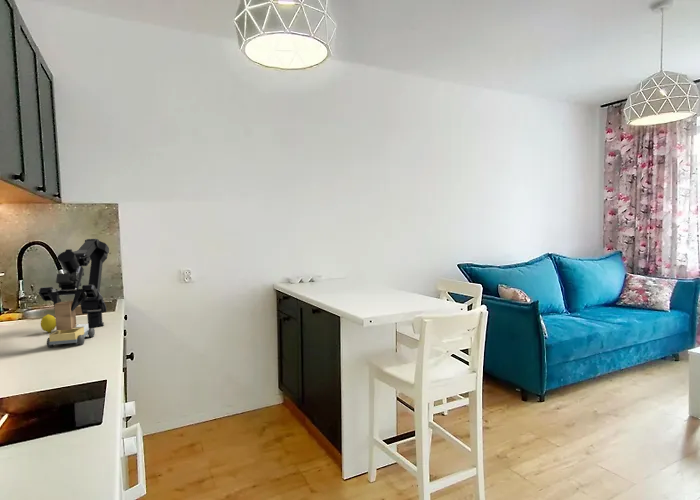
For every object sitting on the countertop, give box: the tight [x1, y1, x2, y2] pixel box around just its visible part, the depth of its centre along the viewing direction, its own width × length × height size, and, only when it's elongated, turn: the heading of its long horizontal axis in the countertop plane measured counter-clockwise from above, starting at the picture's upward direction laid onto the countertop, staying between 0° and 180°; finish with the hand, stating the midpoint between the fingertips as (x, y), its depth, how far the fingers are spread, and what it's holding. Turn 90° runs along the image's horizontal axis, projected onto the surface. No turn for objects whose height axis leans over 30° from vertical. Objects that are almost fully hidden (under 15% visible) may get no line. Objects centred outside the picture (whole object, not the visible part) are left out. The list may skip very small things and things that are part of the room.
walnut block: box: [53, 300, 77, 332], centre depth 162 cm, size 5×5×10 cm
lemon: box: [40, 313, 56, 334], centre depth 182 cm, size 6×6×8 cm
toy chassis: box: [46, 323, 96, 348], centre depth 166 cm, size 16×11×5 cm
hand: (63, 310), depth 161 cm, fingers closed on walnut block, 5 cm apart
